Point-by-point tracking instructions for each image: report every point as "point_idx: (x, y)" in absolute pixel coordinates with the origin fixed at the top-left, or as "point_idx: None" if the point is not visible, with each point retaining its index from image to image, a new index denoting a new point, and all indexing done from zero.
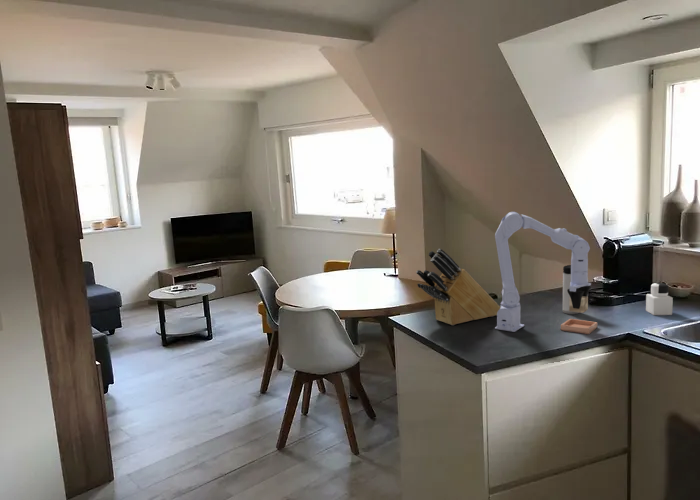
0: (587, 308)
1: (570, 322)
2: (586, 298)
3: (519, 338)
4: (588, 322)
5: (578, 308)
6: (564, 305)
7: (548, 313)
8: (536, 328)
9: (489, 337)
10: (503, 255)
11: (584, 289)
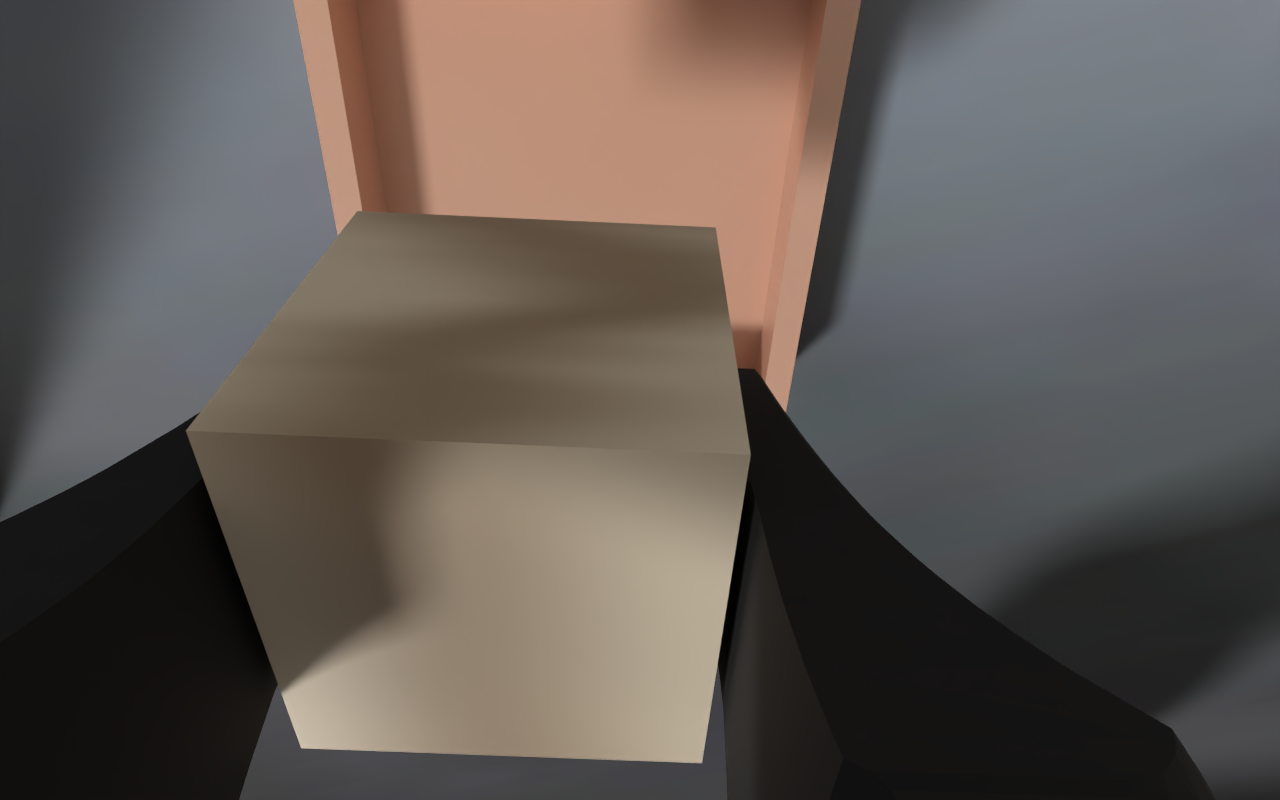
0: (364, 226)
1: None
2: (377, 413)
3: (1253, 619)
4: (352, 107)
5: (760, 381)
6: None
7: None
8: None
9: (1251, 779)
10: None
11: (46, 791)
